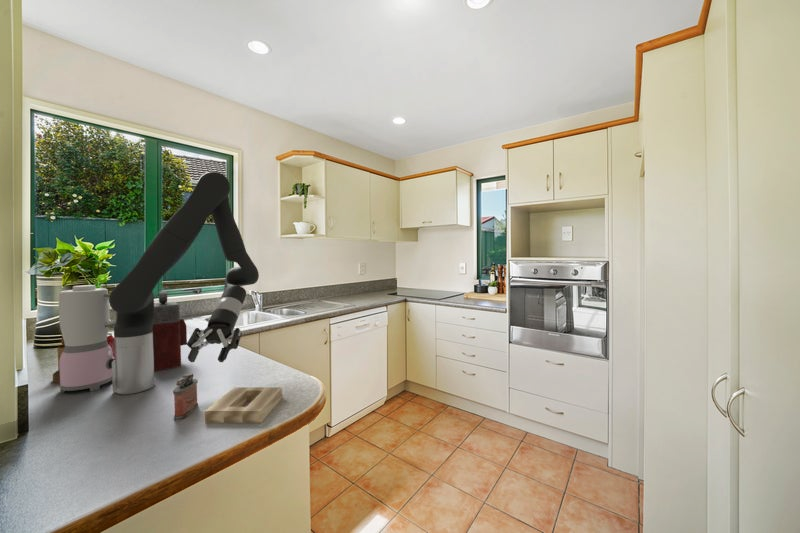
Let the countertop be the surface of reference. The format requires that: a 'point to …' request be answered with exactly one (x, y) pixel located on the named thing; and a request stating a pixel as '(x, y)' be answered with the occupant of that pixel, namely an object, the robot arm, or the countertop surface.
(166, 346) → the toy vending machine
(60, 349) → the mortar and pestle
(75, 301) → the blender
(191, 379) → the lighter
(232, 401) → the rail
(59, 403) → the countertop surface
